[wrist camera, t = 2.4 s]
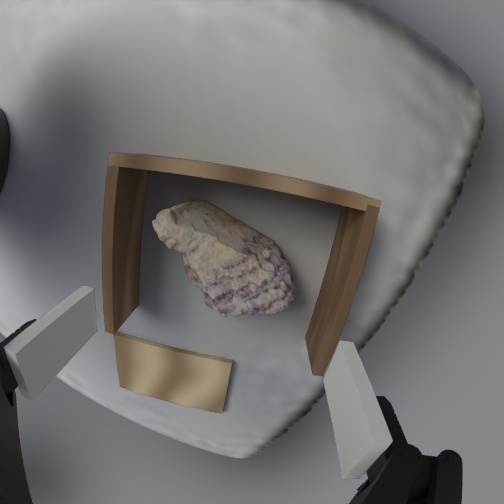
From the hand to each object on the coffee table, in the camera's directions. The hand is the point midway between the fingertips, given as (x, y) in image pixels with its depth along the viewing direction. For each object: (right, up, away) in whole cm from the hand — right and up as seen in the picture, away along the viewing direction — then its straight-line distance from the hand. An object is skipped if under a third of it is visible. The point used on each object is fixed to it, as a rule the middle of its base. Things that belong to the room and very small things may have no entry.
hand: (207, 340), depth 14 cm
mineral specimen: (0, +4, +13) cm, 14 cm away
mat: (-8, -10, +18) cm, 22 cm away
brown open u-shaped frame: (0, +4, +13) cm, 13 cm away
